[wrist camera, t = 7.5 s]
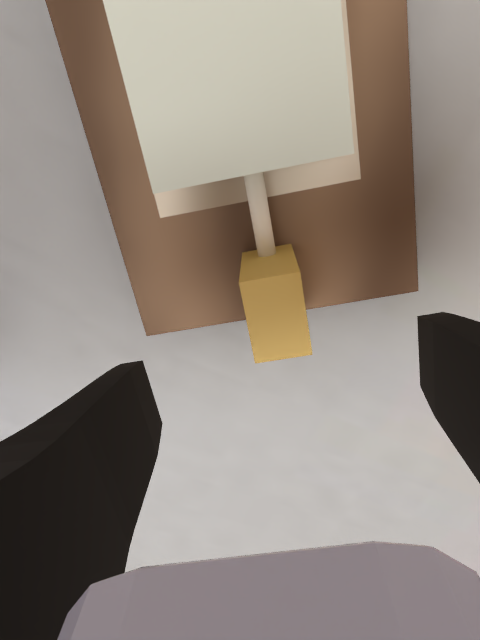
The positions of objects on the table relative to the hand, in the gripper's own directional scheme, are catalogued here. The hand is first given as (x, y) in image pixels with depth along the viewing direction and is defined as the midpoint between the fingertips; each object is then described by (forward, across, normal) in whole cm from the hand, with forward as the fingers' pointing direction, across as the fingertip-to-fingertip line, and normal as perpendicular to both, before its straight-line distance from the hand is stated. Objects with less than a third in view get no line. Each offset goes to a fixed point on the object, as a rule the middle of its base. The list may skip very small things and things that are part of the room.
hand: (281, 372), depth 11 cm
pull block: (+8, 0, -4) cm, 9 cm away
